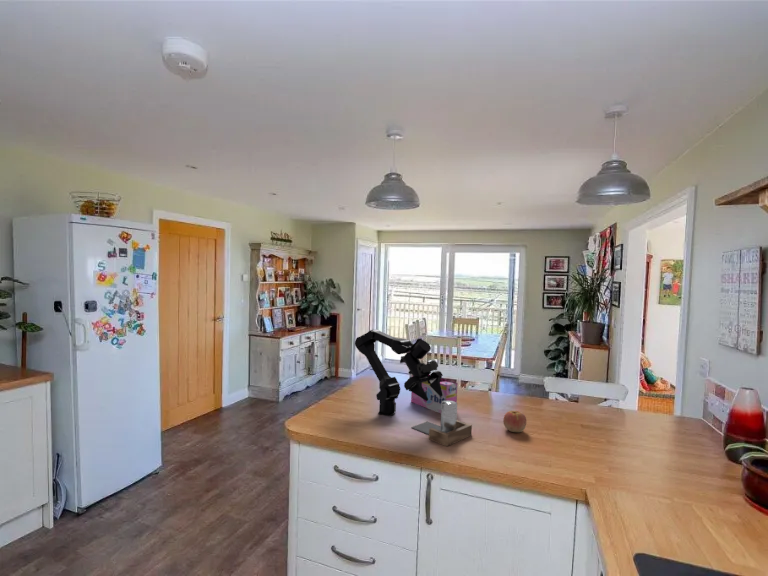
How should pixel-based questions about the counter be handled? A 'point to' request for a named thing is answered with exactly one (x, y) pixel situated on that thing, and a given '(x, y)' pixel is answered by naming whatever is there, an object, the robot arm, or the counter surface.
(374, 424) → the counter surface
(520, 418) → the apple
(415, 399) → the gum box
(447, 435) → the walnut rack
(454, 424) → the steel tin
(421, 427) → the rubber mat
